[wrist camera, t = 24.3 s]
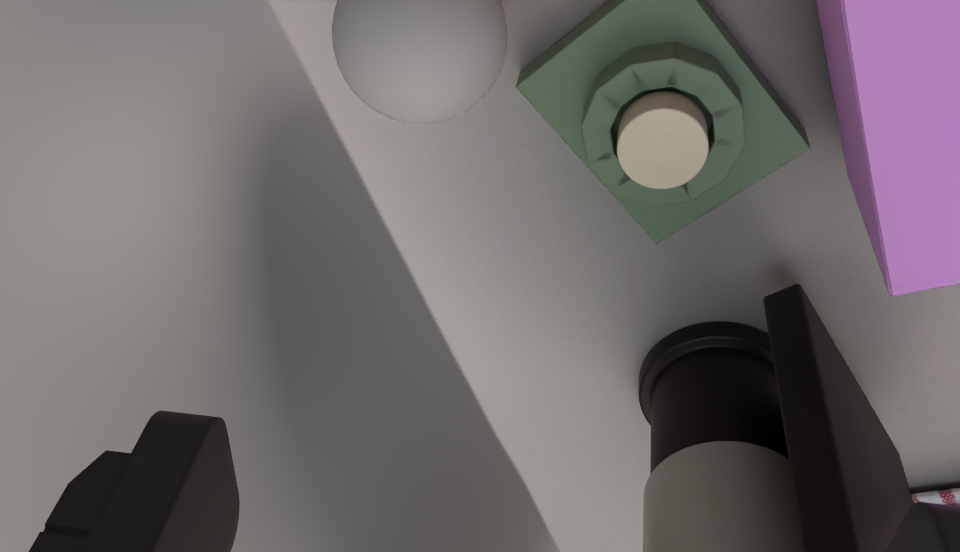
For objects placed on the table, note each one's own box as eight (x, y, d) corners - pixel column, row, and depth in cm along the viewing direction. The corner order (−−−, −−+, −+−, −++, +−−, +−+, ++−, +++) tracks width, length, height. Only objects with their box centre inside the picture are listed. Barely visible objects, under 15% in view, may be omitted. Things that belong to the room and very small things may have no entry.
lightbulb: (380, -105, 38) (293, -25, 29) (529, -111, 37) (487, -29, 28) (398, 40, 41) (325, 152, 32) (534, 39, 40) (498, 154, 31)
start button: (724, 137, 38) (727, 157, 36) (653, 184, 40) (652, 205, 38) (672, 73, 37) (672, 90, 35) (600, 124, 38) (598, 143, 37)
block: (805, 130, 40) (816, 168, 37) (656, 225, 44) (656, 265, 41) (668, -48, 37) (669, -22, 34) (520, 71, 41) (509, 103, 38)
